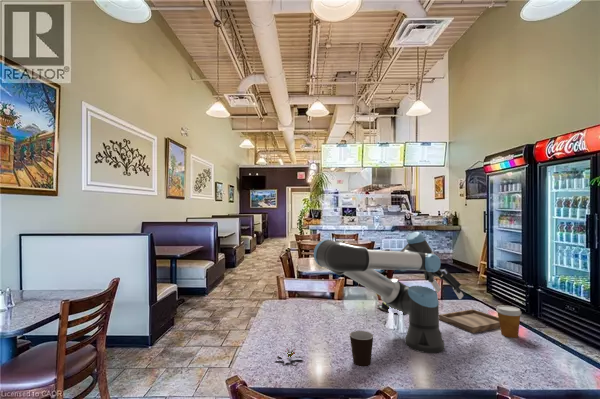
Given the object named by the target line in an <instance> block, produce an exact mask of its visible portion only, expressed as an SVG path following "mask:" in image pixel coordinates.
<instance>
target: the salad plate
mask: <svg viewBox="0 0 600 399" xmlns="http://www.w3.org/2000/svg"><path fill="white" fill-rule="evenodd" d="M376 307H378V308H379V310H380V309H381V310H380V311H382V310H383V311H382V312H384V311H386V312H385V313H388V312H387V311H388V309H389V305H387V304H386V303H385V302H383V301H382V303H381V304H378V305H376ZM405 314H406V313H404V312H403V314H402V315H405Z"/></svg>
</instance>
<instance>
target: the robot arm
mask: <svg viewBox="0 0 600 399" xmlns="http://www.w3.org/2000/svg"><path fill="white" fill-rule="evenodd" d="M406 242H407V244H406V245H405V246H404V248H402V249H401V250H400V251H396V250H395V251H393V250H383V249H382V250H379V249H378V250H377V249H368V248H367V247H365V246H360V245H359V246H358V245H352V244H349V243H345V242H340V241H333V240H332V239H331V240H330V239H324V240H322V241H319V242H318V243H317V244H316V245H315V247H314V250H313V259H314V261H315V263H316V264H317V265H319V267H322V268H326V269H327V270H329V271H330V272H332V273H334V274H335V275H338V276H342V275H344V276H346V277H348V278H350V279H351V280H352V281H354V282H356V283H358V284H360V285H361V286H363V287H365V288H366V289H368V290H370V291H372V292H373V293H375V294H376V295H379V296H380V299H381V301H382V302H384V303H386V304H387V305H389V306H390V307H391V308H394V309H397V310H399V311H402V312H404V313H406V314H407V315H408V322H409V323H408V329H407V333H406V335H405V345H406V346H407V347H408V348H409V349H410V350H413V351H416V352H420V353H426V354H437V353H441V352H444V350H445V341H444V339H443V335H442V333H441V331H440V323H439V322H440V320H439V315H440V313H439V310H440V308H439V303H440V302H439V296H438V293H439V292H440V291H441V290H442V288H441V286H440V285H439V284H438V281H437V280H436V279H435V277H438V278H439V279H440V280H443V281H445V283H447V284H448V285H449V286H450V287H452V290H453V292H454V293H455V294H456V297H457V298H458V299H459V300H461V299H463V297H465V296H464V294H463V291H462V290H461V288H460V287H461V286H462V284H461V283H460V281H458V280H457V279H456V278H455V277H454V276H453V275H452V274H451V273H450V272H449V271H448V269H447V268H444V269H442V268H441V264H442V263H441V259H440V257H439V256H438V255H436V254H435V253H434V251H433V250H432V249H431V247H430V244H429V243H428V242H427V240H426V238H425V236H424V235H423V234H422V233H421V232H420V231H415V232H411V233H409V234H408V235H407V237H406ZM377 270H387V271H388V270H393V271H395V270H396V271H401V272H406V271H418V272H419V271H422V272H423V274H424V280H425V281H428V282H429V283H430V284H431V286H432V287H433V288H430V287H428V286H422V285H411V286H408V285H406V284H404V283H403V282H401V281H399V280H398V279H396V278H388V277H387V276H385V275H384V274H382V273H380V272H378V271H377Z"/></svg>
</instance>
